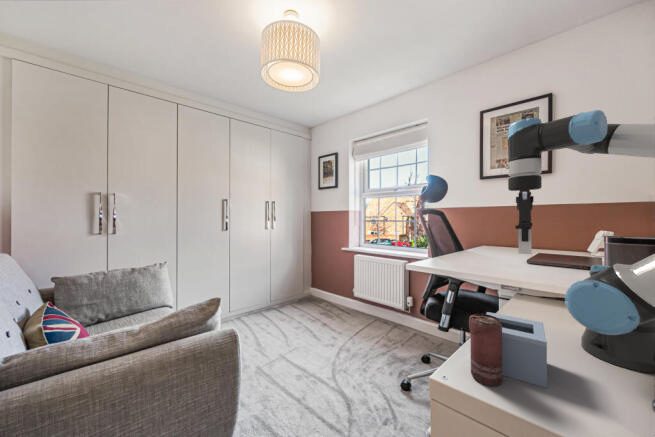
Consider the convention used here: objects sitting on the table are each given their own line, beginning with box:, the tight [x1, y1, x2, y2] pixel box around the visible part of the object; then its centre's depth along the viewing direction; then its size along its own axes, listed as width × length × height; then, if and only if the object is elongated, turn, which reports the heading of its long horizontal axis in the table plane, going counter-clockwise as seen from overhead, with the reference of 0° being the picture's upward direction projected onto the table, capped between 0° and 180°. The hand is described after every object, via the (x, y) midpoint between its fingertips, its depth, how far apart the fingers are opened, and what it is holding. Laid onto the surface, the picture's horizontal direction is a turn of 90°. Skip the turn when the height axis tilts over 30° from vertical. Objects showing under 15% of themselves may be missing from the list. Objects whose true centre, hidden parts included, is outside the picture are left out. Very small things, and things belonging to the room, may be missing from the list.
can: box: [468, 313, 503, 387], centre depth 58 cm, size 6×6×14 cm
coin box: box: [485, 311, 548, 389], centre depth 63 cm, size 12×12×10 cm
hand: (524, 250), depth 73 cm, fingers open, 13 cm apart
